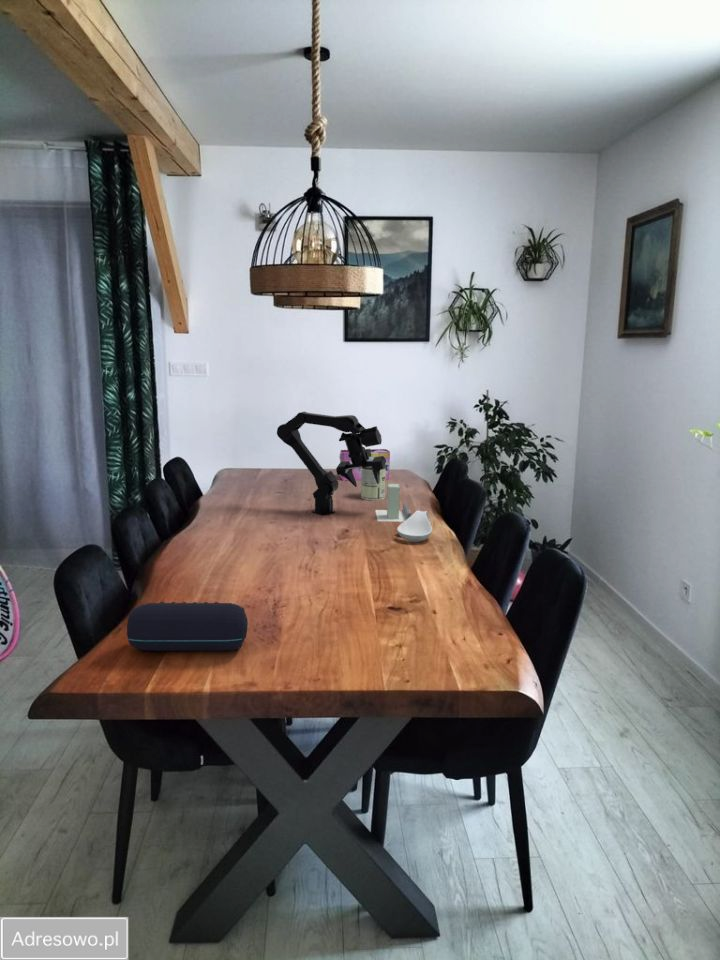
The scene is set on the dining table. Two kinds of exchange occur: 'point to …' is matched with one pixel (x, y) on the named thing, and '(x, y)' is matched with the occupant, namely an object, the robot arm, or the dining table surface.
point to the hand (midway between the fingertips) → (367, 485)
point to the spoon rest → (416, 527)
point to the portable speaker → (187, 626)
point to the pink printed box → (374, 453)
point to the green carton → (393, 501)
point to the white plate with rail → (403, 517)
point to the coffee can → (372, 484)
